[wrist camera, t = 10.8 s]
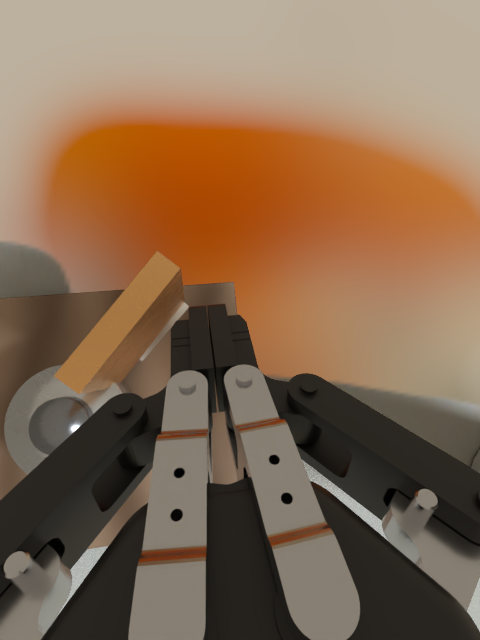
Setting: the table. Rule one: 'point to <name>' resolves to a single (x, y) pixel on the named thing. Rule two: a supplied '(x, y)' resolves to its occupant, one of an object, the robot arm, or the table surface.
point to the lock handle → (92, 366)
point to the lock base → (62, 340)
